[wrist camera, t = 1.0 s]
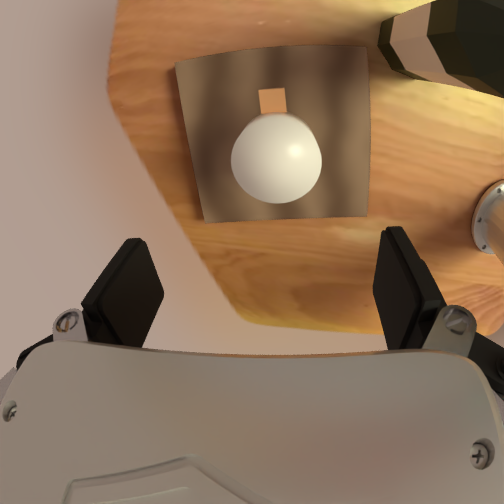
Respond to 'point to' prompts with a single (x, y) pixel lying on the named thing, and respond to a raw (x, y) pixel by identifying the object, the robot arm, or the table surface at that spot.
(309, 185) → the light bulb
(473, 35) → the wine bottle
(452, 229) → the table surface
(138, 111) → the table surface
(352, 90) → the post board
